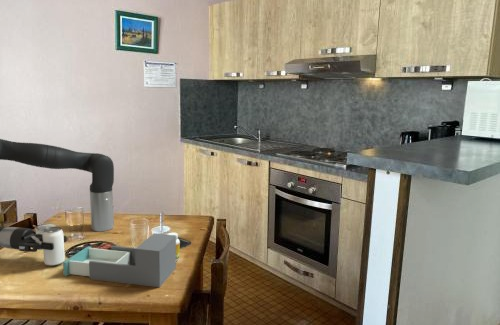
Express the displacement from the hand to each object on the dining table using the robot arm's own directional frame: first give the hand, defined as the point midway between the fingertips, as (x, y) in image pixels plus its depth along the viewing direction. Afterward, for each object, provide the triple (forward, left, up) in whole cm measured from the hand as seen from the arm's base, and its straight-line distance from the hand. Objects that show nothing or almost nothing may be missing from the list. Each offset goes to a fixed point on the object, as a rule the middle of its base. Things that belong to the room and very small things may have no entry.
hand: (59, 242), depth 135 cm
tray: (0, +16, -8) cm, 18 cm away
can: (0, -2, -7) cm, 8 cm away
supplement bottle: (-14, +36, -8) cm, 39 cm away
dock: (0, +28, -8) cm, 29 cm away
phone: (-30, +30, -9) cm, 43 cm away
